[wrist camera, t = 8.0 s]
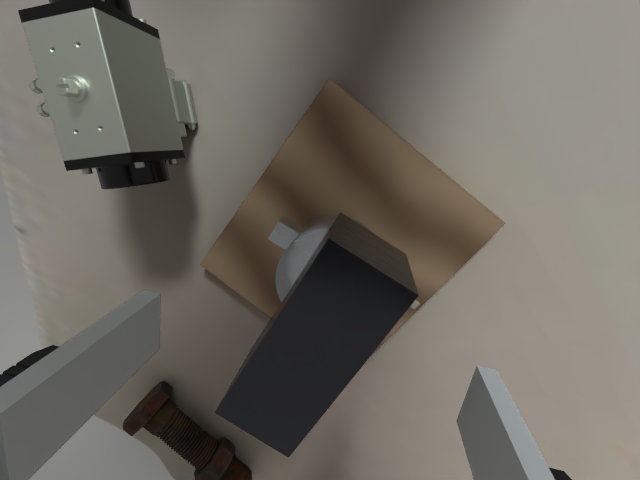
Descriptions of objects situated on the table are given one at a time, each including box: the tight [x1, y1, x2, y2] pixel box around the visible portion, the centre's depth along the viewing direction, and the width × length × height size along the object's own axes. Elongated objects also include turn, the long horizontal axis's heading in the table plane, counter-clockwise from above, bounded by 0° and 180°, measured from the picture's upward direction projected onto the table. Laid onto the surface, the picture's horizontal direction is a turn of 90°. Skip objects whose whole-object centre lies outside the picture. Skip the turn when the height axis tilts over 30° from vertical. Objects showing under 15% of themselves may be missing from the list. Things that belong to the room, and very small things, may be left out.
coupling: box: [215, 212, 419, 457], centre depth 20 cm, size 10×10×13 cm
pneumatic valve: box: [18, 0, 197, 189], centre depth 25 cm, size 6×12×12 cm, turn 6°
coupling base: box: [200, 78, 505, 355], centre depth 29 cm, size 20×18×5 cm
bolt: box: [123, 381, 252, 480], centre depth 38 cm, size 6×5×15 cm
